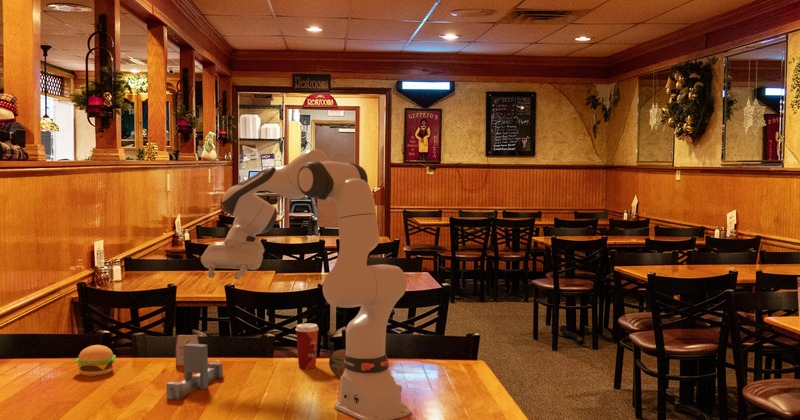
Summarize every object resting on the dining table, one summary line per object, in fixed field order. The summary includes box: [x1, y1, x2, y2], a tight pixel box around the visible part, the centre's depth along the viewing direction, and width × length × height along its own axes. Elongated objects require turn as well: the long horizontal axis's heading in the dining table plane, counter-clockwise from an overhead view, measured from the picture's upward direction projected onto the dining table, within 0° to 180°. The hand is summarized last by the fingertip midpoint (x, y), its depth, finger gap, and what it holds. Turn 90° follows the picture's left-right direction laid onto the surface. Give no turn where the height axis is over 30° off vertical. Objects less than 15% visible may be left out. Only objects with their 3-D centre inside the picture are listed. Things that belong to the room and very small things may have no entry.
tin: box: [328, 349, 346, 378], centre depth 235 cm, size 15×3×8 cm, turn 62°
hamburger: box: [75, 344, 117, 377], centre depth 239 cm, size 12×12×9 cm
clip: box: [183, 343, 209, 391], centre depth 223 cm, size 6×3×13 cm, turn 73°
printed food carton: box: [175, 334, 200, 367], centre depth 249 cm, size 4×7×10 cm, turn 88°
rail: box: [166, 361, 223, 401], centre depth 223 cm, size 24×4×4 cm, turn 163°
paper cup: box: [295, 322, 320, 370], centre depth 246 cm, size 8×8×14 cm
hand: (223, 277), depth 236 cm, fingers open, 8 cm apart
